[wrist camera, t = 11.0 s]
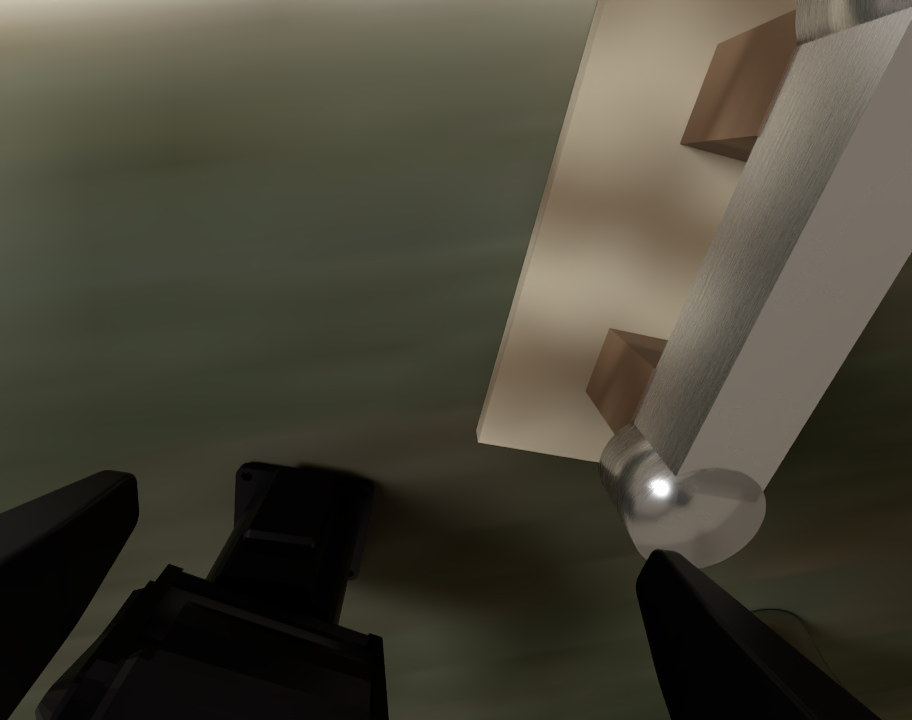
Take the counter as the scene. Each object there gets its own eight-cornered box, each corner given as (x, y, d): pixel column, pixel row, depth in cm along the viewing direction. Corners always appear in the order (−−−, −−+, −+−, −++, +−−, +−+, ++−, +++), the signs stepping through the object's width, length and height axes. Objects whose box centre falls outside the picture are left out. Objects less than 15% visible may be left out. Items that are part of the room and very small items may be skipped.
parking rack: (684, 466, 22) (749, 542, 18) (476, 430, 21) (487, 503, 16) (933, -13, 15) (1158, -96, 10) (631, -118, 13) (734, -269, 9)
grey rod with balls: (680, 511, 17) (727, 577, 14) (583, 495, 16) (613, 561, 14) (1004, -88, 10) (1217, -185, 7) (854, -146, 10) (1023, -272, 7)
